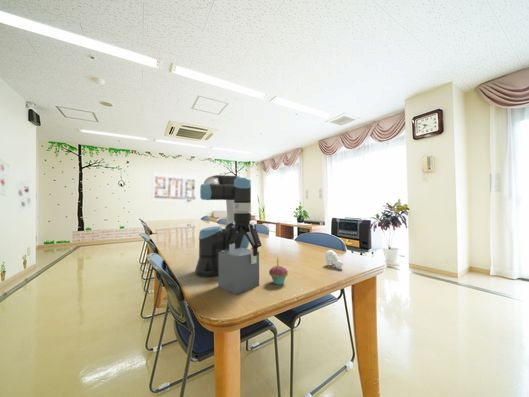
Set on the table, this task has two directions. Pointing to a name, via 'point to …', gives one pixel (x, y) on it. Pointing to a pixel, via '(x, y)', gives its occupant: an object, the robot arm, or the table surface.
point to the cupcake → (278, 274)
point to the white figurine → (333, 259)
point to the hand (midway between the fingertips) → (242, 260)
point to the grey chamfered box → (237, 270)
